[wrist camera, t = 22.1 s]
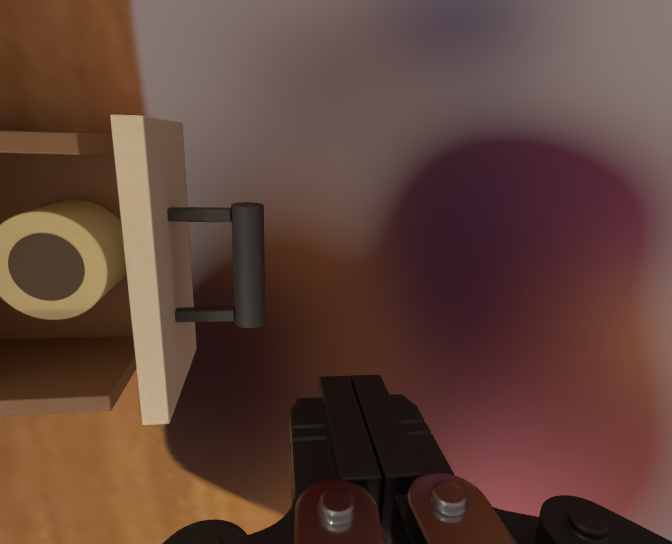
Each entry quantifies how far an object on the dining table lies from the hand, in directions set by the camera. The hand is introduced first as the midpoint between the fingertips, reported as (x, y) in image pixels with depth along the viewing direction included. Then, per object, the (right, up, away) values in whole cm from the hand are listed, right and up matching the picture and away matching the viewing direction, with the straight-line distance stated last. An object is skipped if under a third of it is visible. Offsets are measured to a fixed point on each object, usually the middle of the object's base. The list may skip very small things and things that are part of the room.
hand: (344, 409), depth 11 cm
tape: (-14, +5, +13) cm, 20 cm away
